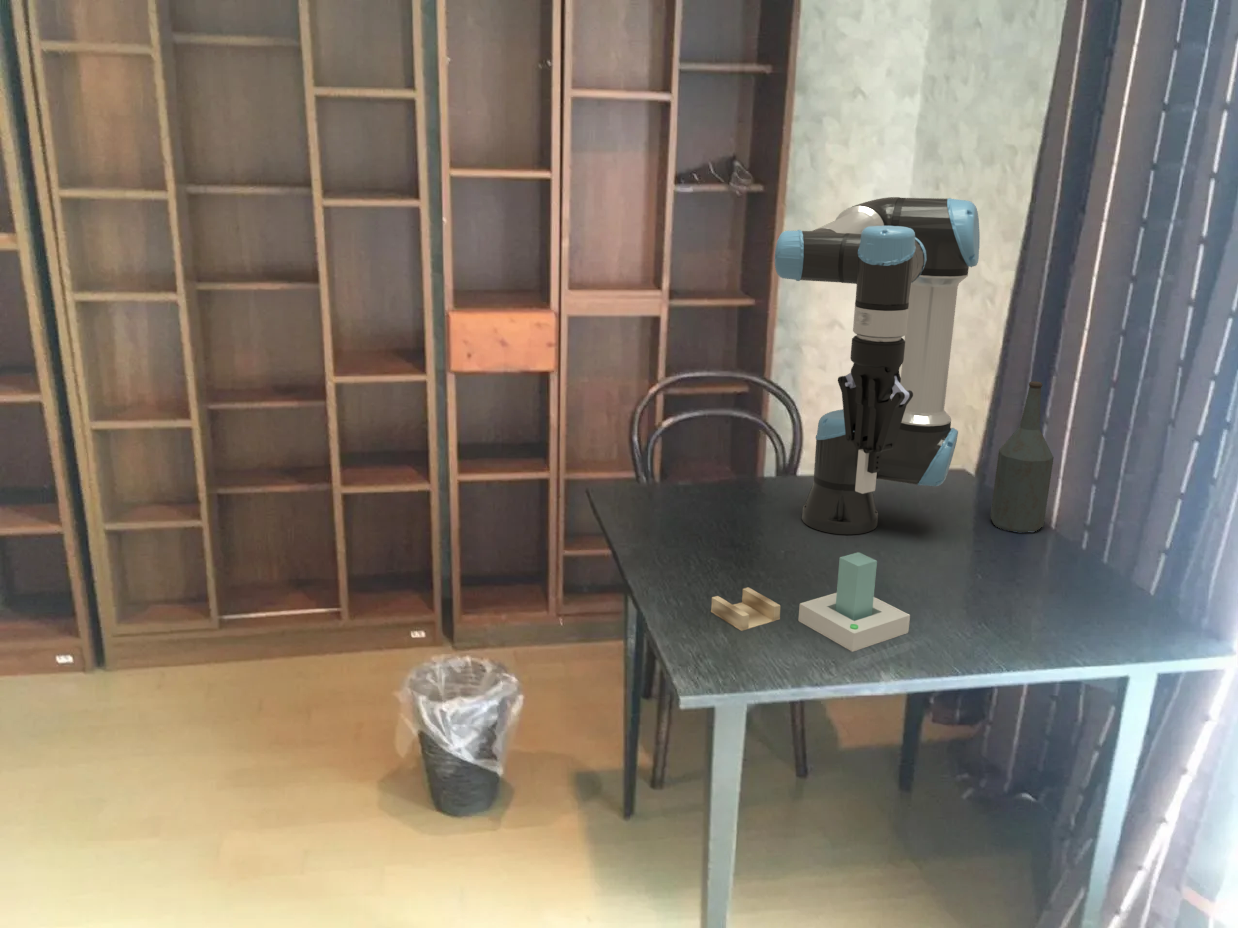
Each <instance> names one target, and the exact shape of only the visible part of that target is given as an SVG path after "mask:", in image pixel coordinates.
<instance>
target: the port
mask: <svg viewBox="0 0 1238 928" xmlns="http://www.w3.org/2000/svg"><path fill="white" fill-rule="evenodd" d="M836 595H837V592H834V593H831V594H827V595H824V596H821V597H817V598H813V599H810V600H807V601H803V602H800V603H799V604H798V605H799V608H798V609H799V610H798V622H799V623H801V624H803V625H805V626H806V627H808V628H810V629H811V630H814V631H815V632H817V633H819V634H821V635H822V636H824V637H826V638H827V639H830V640H831V641H833V643H836V644H838V645H840V646H841V647H843V648H845V649H846V650H849V651H850V652H851V653H853V652H856V651H859V650H863V649H864V648H868V647H871V646H874V645H877V644H879V643H882V642H885V641H888V640H891V639H894V638H897V637H899V636H903V635H905V634H906V635H907V634H908V633H909V631H910V630H909V628H910V622H911V621H910V619H911V614H909V613H907V612H905V611H903V610H901V609H899V608H897V607H895V606H893V605H891V604H889V603H887V602H885V601H883V600H882V599H881V600H880V599H879V598H877V597H875V596H874V599H873V609H872V616H868V617H865V618H862V619H859V620H856V621H853V620H851V619H849V618H848V617H846V616H844V615H842V614H840V613H838V612H836V611H835V607H836Z"/></svg>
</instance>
